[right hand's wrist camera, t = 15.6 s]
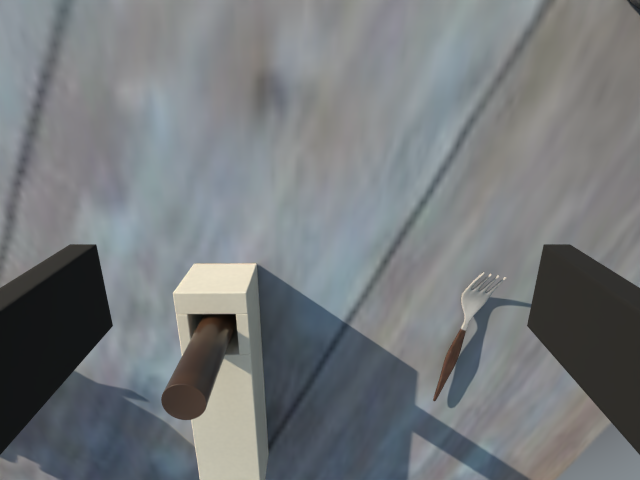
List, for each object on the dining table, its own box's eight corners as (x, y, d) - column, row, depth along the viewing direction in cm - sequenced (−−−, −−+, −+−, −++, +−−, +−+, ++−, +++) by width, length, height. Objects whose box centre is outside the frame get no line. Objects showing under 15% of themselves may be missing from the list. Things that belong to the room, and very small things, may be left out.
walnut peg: (242, 286, 40) (204, 384, 27) (244, 313, 41) (208, 420, 28) (211, 286, 40) (158, 384, 27) (214, 313, 41) (164, 420, 28)
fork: (421, 395, 44) (425, 408, 42) (473, 263, 39) (481, 272, 37) (444, 399, 44) (449, 413, 42) (499, 269, 39) (508, 278, 37)
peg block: (256, 263, 39) (246, 292, 33) (268, 453, 47) (261, 503, 42) (193, 263, 39) (172, 293, 33) (216, 454, 47) (203, 503, 42)
